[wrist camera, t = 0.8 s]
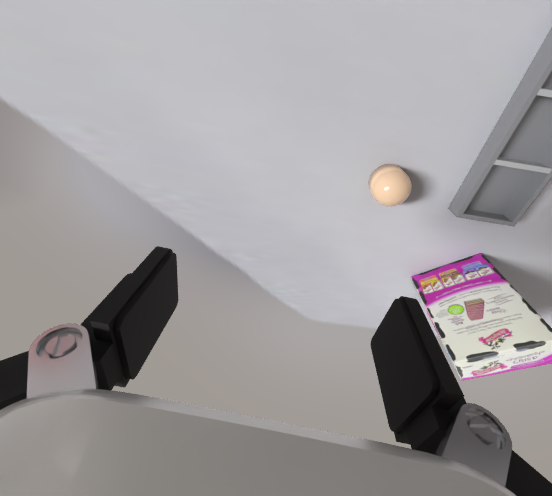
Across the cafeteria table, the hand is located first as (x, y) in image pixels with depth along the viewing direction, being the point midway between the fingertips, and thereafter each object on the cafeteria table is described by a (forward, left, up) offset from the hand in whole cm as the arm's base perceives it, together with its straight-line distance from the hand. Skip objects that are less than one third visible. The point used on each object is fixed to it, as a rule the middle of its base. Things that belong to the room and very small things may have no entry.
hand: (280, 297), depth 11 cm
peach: (+4, +13, -29) cm, 32 cm away
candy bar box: (+18, +29, -29) cm, 45 cm away
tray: (-5, +27, -29) cm, 40 cm away
